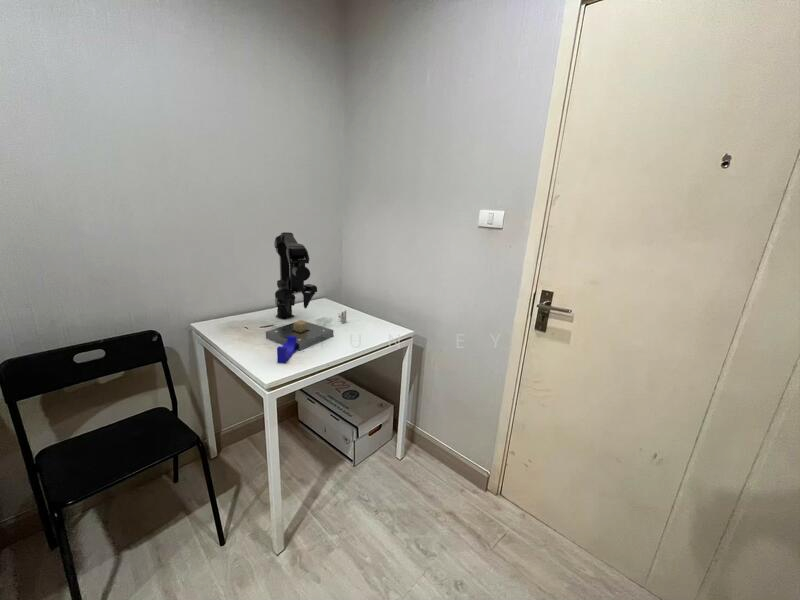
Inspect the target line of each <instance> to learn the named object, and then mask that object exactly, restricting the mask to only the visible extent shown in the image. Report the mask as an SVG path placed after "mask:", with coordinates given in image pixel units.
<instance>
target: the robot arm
mask: <svg viewBox="0 0 800 600" xmlns="http://www.w3.org/2000/svg"><path fill="white" fill-rule="evenodd" d="M273 243H274V245H273V247H274V249H275V252H276V253H277V255H278V256H279V280H277V281H276V286H277V288H278V289H277V290H276V291H275V292H274V297H275V298H274V303H275V306H276V308H277V309H276V311H277V312H276V313H277V315H276V316H275V317H276V318H279V319H282V320H287V319H290V318H293V317H295V315H293V306H295V305H296V303H295V301H296V296H295V295H296V294H300V293H301V295H302V296H303V298H302V299H303V308H304V309H307V308H308V306H309V304H310V302H311V300H312V299H313V297H314V295H315V294H316V293H317V292H318V287H317V286H316V285H315V284H312V283H306V284H305V281H307V280H308V279H309V278H310V277H311V271H310V269H309V268H308V267H306V264H309V263H310V255H309V252H308V250H307V248H306V246H305V245H303V244H301V243H298V241H297V240H296V238H295V237H294V233H292V232H281V233H280V235H277V236H276V237H275V238H274V241H273Z"/></svg>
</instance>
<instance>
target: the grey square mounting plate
mask: <svg viewBox="0 0 800 600" xmlns="http://www.w3.org/2000/svg"><path fill="white" fill-rule="evenodd" d="M301 320H302V321H305V322H307V332H305V333H303V334H297V333H294V325H293V322H291V323H288V324H285V325H282V326H278V327H276V328H272V329H269V330H267V331H265V339H267V340H269V341H273V342H274V343H277V344H279V345H280V344H281V345H283V344H284V343H285V342H287V337H288V336H296V346H297V350H296V351H303V350H304V349H306V348H309V347H311V346H314V345H316V344H319V343H321V342H323V341H326V340H328V339H330V338H333V337H334V329H331V328H328V327H325V326H321V325H319V324H314V323H312V322H308V321H306V320H303V319H301Z"/></svg>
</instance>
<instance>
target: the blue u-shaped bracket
mask: <svg viewBox="0 0 800 600" xmlns="http://www.w3.org/2000/svg"><path fill="white" fill-rule="evenodd" d="M296 351H298V350H297V346H296V336H288V337H287V342H285V343H284V344H282V346H281V345H279V346H277V347H276V355H277V356H276V357H277V358H276V360H277V361H276V362H277V364H287V362H288V361H289V360H290V359H291V357H292V356H293V355H294V354H295V352H296Z"/></svg>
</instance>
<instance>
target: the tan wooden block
mask: <svg viewBox="0 0 800 600" xmlns="http://www.w3.org/2000/svg"><path fill="white" fill-rule="evenodd" d="M302 320H303V319H300V320H297V321H294V322H292V323H293V325H294V333H297V334H303V333H305V332H307V322H308V321H306V320H303V321H302ZM305 321H306V322H305Z"/></svg>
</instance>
